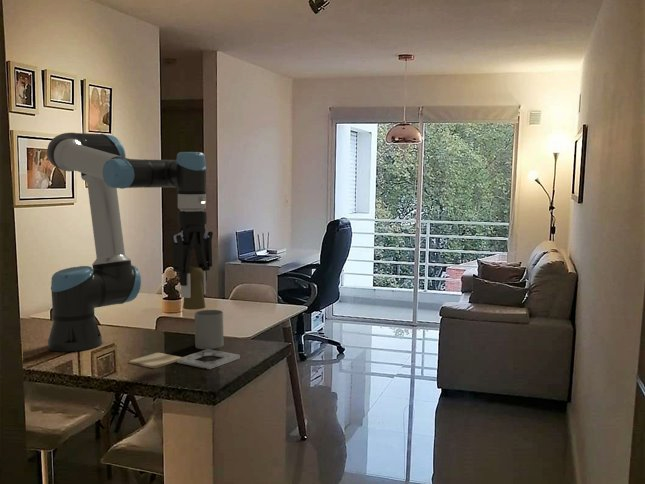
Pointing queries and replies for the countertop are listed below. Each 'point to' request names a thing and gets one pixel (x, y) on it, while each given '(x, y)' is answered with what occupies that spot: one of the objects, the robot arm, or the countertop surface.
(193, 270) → the pepper shaker
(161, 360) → the coaster
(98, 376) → the countertop surface
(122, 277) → the robot arm
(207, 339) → the cup
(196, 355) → the plate
